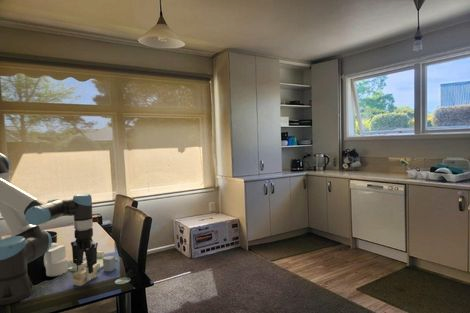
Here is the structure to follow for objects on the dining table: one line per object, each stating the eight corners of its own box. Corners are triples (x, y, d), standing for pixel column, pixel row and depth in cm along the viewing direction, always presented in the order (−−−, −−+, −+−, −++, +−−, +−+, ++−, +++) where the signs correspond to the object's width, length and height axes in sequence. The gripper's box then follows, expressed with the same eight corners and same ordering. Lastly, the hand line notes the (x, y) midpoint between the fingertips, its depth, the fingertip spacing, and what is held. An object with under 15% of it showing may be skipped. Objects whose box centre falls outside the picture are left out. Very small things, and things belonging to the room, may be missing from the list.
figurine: (53, 268, 152) (52, 245, 151) (40, 268, 153) (39, 245, 153) (64, 263, 159) (62, 241, 158) (51, 262, 160) (50, 240, 160)
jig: (91, 273, 144) (91, 265, 144) (67, 270, 149) (67, 262, 149) (117, 259, 161) (116, 252, 161) (95, 257, 166) (94, 250, 166)
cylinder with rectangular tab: (57, 276, 142) (55, 251, 141) (41, 275, 144) (40, 251, 143) (71, 269, 150) (70, 245, 150) (56, 268, 152) (55, 245, 152)
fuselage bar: (80, 285, 131) (80, 274, 131) (73, 284, 132) (73, 273, 132) (97, 276, 140) (96, 265, 140) (90, 275, 142) (90, 265, 141)
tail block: (110, 271, 145) (109, 259, 145) (103, 271, 147) (102, 258, 147) (115, 268, 149) (115, 256, 149) (109, 267, 150) (108, 256, 150)
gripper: (104, 227, 136) (106, 278, 137) (75, 225, 142) (77, 273, 142) (92, 231, 129) (94, 285, 130) (62, 229, 135) (64, 280, 135)
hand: (85, 279), depth 136 cm, fingers closed on fuselage bar, 4 cm apart
